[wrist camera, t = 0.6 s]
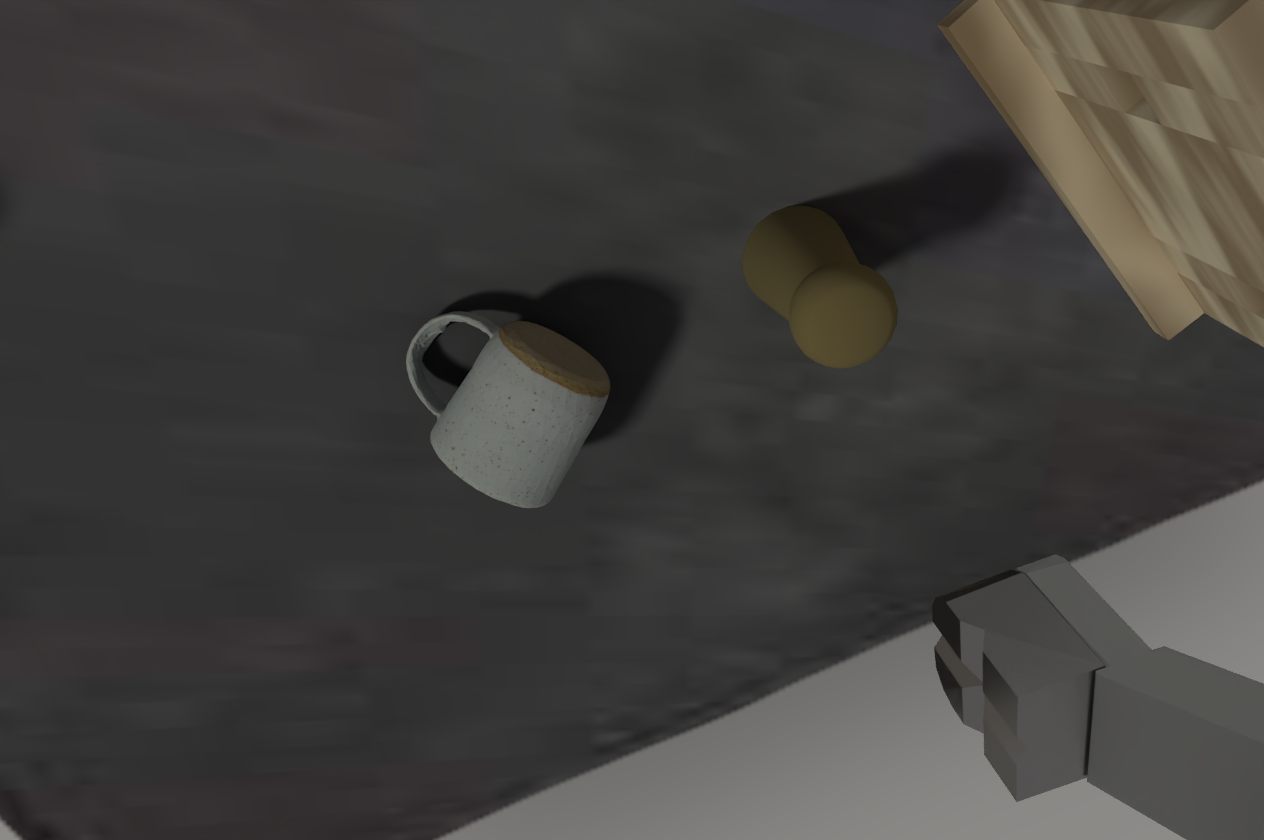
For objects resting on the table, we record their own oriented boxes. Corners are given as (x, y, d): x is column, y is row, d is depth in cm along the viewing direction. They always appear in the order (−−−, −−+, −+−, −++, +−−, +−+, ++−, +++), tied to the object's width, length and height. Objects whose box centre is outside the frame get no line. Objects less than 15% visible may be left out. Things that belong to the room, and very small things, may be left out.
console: (1097, -121, 52) (1410, -136, 34) (1298, 219, 61) (1625, 347, 43) (937, 24, 54) (1151, 82, 36) (1154, 331, 64) (1409, 496, 46)
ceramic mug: (614, 353, 60) (627, 408, 53) (547, 464, 63) (551, 531, 56) (447, 269, 57) (437, 316, 50) (384, 390, 60) (367, 451, 53)
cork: (734, 304, 60) (780, 383, 50) (751, 200, 57) (803, 261, 47) (835, 312, 61) (900, 390, 51) (856, 209, 58) (929, 271, 48)
